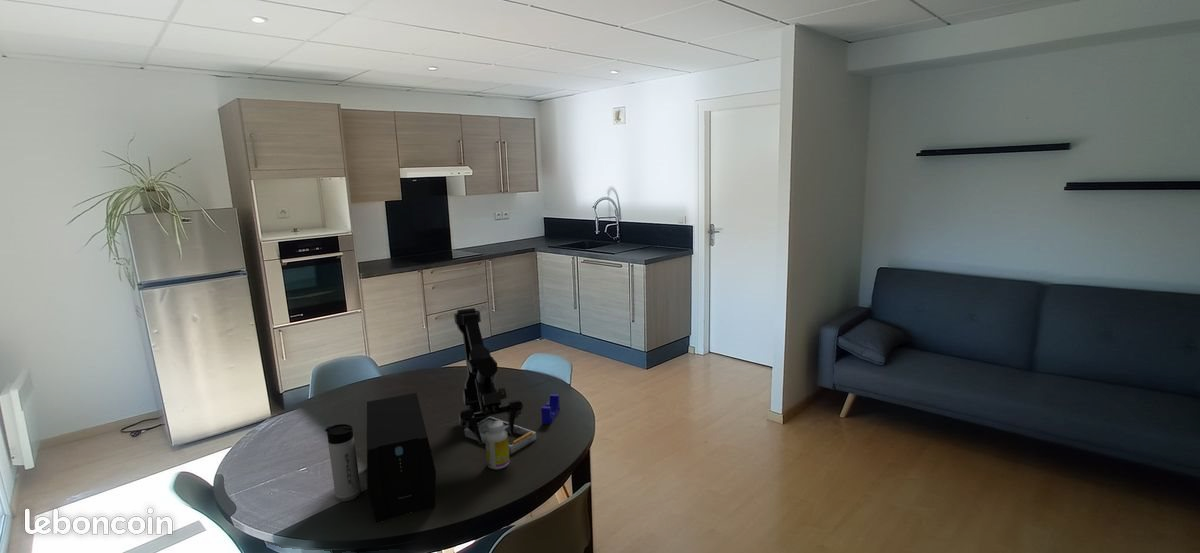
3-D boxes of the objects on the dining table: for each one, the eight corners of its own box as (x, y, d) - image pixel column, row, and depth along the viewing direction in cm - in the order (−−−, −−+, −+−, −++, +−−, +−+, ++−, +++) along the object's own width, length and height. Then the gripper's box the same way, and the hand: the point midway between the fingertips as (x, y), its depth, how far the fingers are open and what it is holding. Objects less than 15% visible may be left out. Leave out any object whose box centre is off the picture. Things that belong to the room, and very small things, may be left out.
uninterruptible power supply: (371, 524, 135) (362, 450, 131) (370, 461, 165) (362, 400, 162) (439, 507, 141) (432, 436, 138) (426, 449, 172) (420, 390, 168)
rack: (464, 436, 180) (464, 426, 179) (490, 423, 188) (489, 414, 188) (511, 454, 167) (510, 444, 166) (536, 439, 176) (535, 429, 175)
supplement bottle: (513, 460, 163) (510, 420, 161) (502, 471, 157) (499, 430, 155) (494, 457, 165) (491, 418, 163) (482, 468, 159) (479, 427, 157)
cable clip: (547, 409, 198) (547, 393, 197) (559, 409, 198) (559, 394, 196) (538, 424, 187) (537, 407, 186) (550, 424, 186) (549, 408, 185)
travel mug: (339, 489, 151) (330, 422, 147) (364, 487, 151) (355, 421, 148) (330, 503, 145) (321, 433, 141) (356, 500, 145) (347, 431, 141)
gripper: (457, 385, 158) (466, 436, 150) (519, 374, 165) (531, 423, 157) (455, 401, 166) (464, 450, 158) (515, 390, 173) (526, 436, 165)
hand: (496, 439), depth 159 cm, fingers open, 9 cm apart
